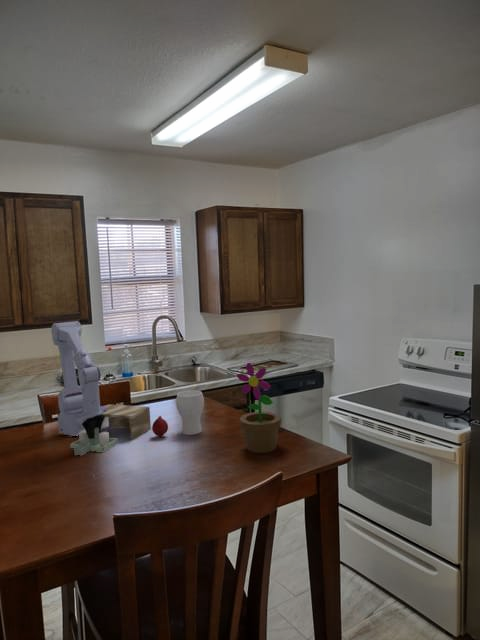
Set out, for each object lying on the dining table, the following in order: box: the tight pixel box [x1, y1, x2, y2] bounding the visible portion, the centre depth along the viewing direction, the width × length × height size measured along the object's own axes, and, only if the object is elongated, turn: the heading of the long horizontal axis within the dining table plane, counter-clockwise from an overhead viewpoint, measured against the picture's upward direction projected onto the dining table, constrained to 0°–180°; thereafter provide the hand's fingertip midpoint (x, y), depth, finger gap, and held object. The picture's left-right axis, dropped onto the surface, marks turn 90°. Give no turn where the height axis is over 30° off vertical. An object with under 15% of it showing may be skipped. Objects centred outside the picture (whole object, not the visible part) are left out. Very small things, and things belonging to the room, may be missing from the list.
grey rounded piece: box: [78, 430, 89, 445], centre depth 166 cm, size 3×3×4 cm
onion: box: [151, 415, 169, 438], centre depth 170 cm, size 6×6×8 cm
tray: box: [69, 427, 119, 457], centre depth 162 cm, size 14×14×7 cm
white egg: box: [99, 431, 110, 447], centre depth 163 cm, size 3×3×4 cm
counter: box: [101, 404, 152, 441], centre depth 178 cm, size 19×12×9 cm, turn 70°
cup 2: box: [175, 389, 205, 436], centre depth 174 cm, size 11×11×15 cm
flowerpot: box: [236, 362, 282, 454], centre depth 154 cm, size 14×14×30 cm
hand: (94, 436), depth 164 cm, fingers closed
